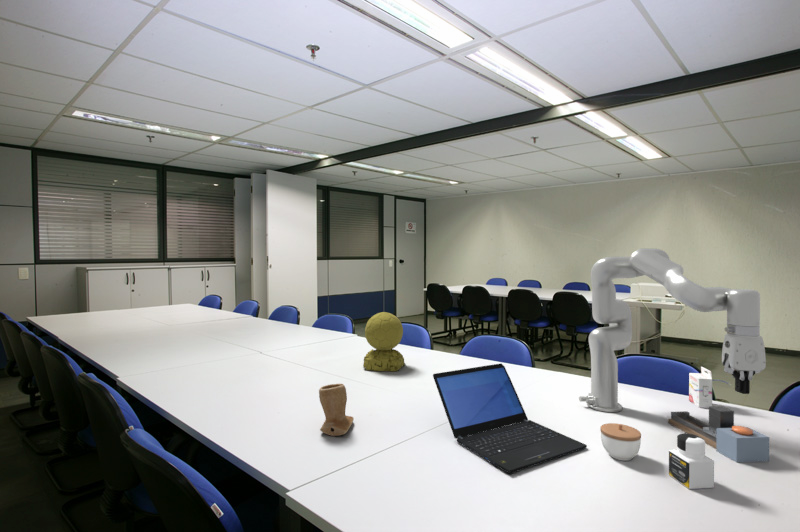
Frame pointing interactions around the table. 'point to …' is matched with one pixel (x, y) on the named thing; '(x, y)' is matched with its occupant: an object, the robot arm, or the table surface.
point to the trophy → (383, 343)
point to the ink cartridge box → (701, 388)
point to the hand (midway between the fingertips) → (742, 392)
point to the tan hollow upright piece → (334, 409)
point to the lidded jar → (620, 440)
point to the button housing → (742, 445)
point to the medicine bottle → (691, 463)
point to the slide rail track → (691, 426)
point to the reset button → (742, 430)
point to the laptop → (497, 419)
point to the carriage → (719, 419)
